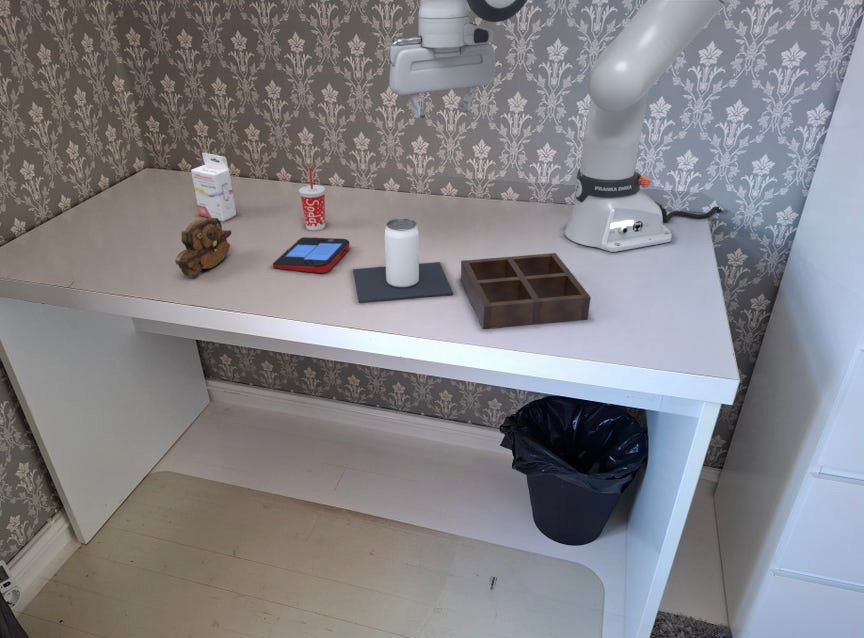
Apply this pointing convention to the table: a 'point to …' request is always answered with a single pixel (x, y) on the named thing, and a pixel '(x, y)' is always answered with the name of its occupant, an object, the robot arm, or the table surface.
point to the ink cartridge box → (214, 188)
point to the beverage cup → (313, 205)
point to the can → (402, 253)
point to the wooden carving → (202, 245)
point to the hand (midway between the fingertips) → (442, 114)
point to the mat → (378, 289)
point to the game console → (313, 255)
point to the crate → (523, 291)
